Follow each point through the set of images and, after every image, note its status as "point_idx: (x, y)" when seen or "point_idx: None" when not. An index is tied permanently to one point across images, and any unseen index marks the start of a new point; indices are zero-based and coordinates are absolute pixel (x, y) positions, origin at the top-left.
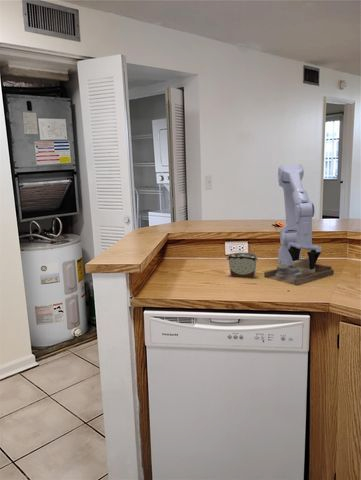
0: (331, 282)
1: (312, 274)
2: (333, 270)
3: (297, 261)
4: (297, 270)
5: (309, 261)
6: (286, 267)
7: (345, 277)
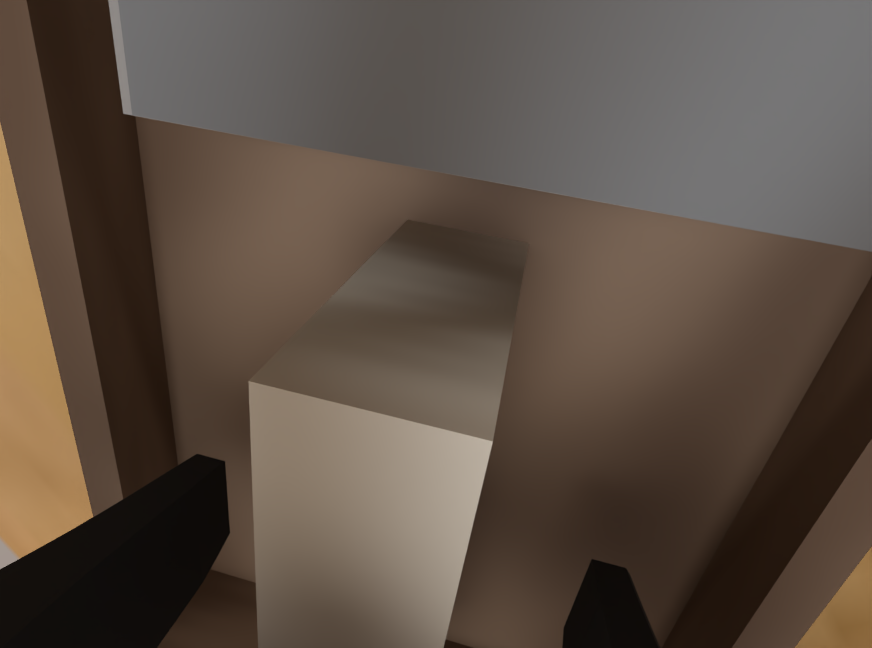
0: (44, 354)
1: None
2: None
3: (345, 512)
4: (147, 24)
5: (62, 580)
6: (587, 26)
7: None
